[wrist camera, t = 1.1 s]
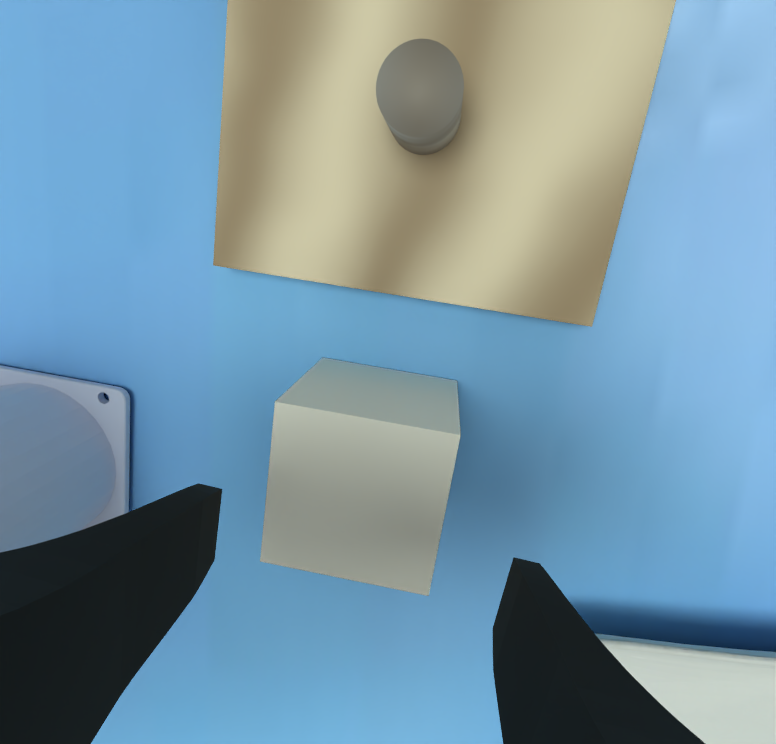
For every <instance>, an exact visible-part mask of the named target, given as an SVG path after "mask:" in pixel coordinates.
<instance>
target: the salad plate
mask: <svg viewBox="0 0 776 744" xmlns="http://www.w3.org/2000/svg"><path fill="white" fill-rule="evenodd" d="M595 635H596V636H597V637H598V638H599V640H600V641H601V642H602V643H603V644H604V645H605V646H606V648H607V649H608V650H609V651H610V652H611V653H612V654H613V655H614V657H615V658H616V659H617V660H618V661H619V662H620V663H621V664H622V666H623V667H624V668H625V669H626V670H627V671H628V672H629V673H630V674H631V675H632V676H633V677H634V678H635V679H636V680H637V681H638V682H639V683H640V684H641V685H642V686H643V687H644V688H645V689H646V690H647V691H648V692H649V693H650V694H651V695H652V696H653V697H654V698H655V699H656V700H657V701H658V702H659V703H660V704H661V705H662V706H663V707H664V708H665V709H667V710H668V711H669V712H670V713H671V714H672V715H673V716H674V717H675V718H676V719H678V720H679V721H680V722H681V723H682V724H683V725H684V726H686V727H687V728H688V729H689V730H690V731H691V732H693V733H694V734H695V735H696V736H697V737H698V738H700V739H701V740H702V741H703V742H704V743H705V744H776V652H768V651H755V650H742V649H731V648H720V647H710V646H700V645H690V644H680V643H672V642H663V641H655V640H647V639H638V638H630V637H622V636H613V635H605V634H595Z"/></svg>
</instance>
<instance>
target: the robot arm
mask: <svg viewBox="0 0 776 744" xmlns="http://www.w3.org/2000/svg"><path fill="white" fill-rule="evenodd" d="M104 393H106V394H107V395H108V396H109V401H108V400H106V399H105V398H104ZM129 451H130V396H129V394H128V392H127V391H126V390H125V389H124V388H121V387H117V386H112V385H106V384H101V383H95V382H90V381H84V380H79V379H73V378H68V377H62V376H57V375H51V374H46V373H40V372H35V371H29V370H24V369H18V368H13V367H7V366H2V365H0V744H91V742H92V741H93V739H94V737H95V736H96V734H97V733H98V731H99V729H100V728H101V726H102V724H103V723H104V721H105V720H106V718H107V716H108V715H109V713H110V712H111V710H112V708H113V707H114V705H115V703H116V702H117V700H118V699H119V697H120V696H121V694H122V693H123V691H124V690H125V688H126V687H127V686H128V684H129V683H130V681H131V680H132V678H133V677H134V676H135V674H136V673H137V672H138V670H139V669H140V668H141V666H142V665H143V664H144V662H145V661H146V660H147V658H148V657H149V656H150V654H151V653H152V652H153V650H154V649H155V648H156V646H157V645H158V644H159V643H160V641H161V640H162V639H163V637H164V636H165V635H166V633H167V632H168V631H169V629H170V628H171V627H172V625H173V624H174V623H175V621H176V620H177V619H178V617H179V616H180V615H181V613H182V612H183V610H184V609H185V608H186V606H187V605H188V604H189V602H190V601H191V600H192V598H193V597H194V595H195V594H196V592H197V590H198V588H199V587H200V585H201V583H202V582H203V580H204V578H205V576H206V574H207V573H208V571H209V569H210V567H211V565H212V563H213V562H214V559H215V550H216V540H217V531H218V522H219V513H220V504H221V494H222V489H220V488H215V487H211V486H207V485H203V484H196V485H193V486H190V487H187V488H185V489H183V490H180V491H178V492H175V493H173V494H171V495H168V496H166V497H164V498H161V499H159V500H157V501H154V502H152V503H149V504H147V505H145V506H142V507H140V508H138V509H135V510H133V511H130V512H129ZM493 671H494V679H495V687H496V694H497V702H498V709H499V716H500V723H501V730H502V737H503V744H705V743H704V742H703V741H702V740H701V739H700V738H698V737H697V736H696V735H695V734H694V733H693V732H691V731H690V730H689V729H688V728H687V727H686V726H684V725H683V724H682V723H681V722H680V721H679V720H678V719H676V718H675V717H674V716H673V715H672V714H671V713H670V712H669V711H668V710H667V709H665V708H664V707H663V706H662V705H661V704H660V703H659V702H658V701H657V700H656V699H655V698H654V697H653V696H652V695H651V694H650V693H649V692H648V691H647V690H646V689H645V688H644V687H643V686H642V685H641V684H640V683H639V682H638V681H637V680H636V679H635V678H634V677H633V676H632V675H631V674H630V673H629V672H628V671H627V670H626V669H625V668H624V667H623V666H622V664H621V663H620V662H619V661H618V660H617V659H616V658H615V657H614V655H613V654H612V653H611V652H610V651H609V650H608V649H607V648H606V646H605V645H604V644H603V643H602V642H601V641H600V640H599V638H598V637H597V636H596V635H595V634H594V632H593V631H592V630H591V629H590V628H589V626H588V625H587V624H586V623H585V621H584V620H583V619H582V618H581V616H580V615H579V614H578V613H577V611H576V610H575V609H574V607H573V606H572V605H571V604H570V602H569V601H568V600H567V598H566V597H565V596H564V594H563V593H562V592H561V590H560V589H559V588H558V586H557V585H556V584H555V583H554V581H553V580H552V579H551V577H550V576H549V575H548V573H547V572H546V571H545V569H544V568H543V567H542V566H541V565H540V563H535V562H531V561H527V560H523V559H518V558H513V562H512V565H511V568H510V572H509V575H508V578H507V582H506V585H505V589H504V592H503V595H502V599H501V602H500V606H499V609H498V612H497V616H496V619H495V623H494V626H493Z"/></svg>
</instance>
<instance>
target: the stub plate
mask: <svg viewBox="0 0 776 744" xmlns="http://www.w3.org/2000/svg"><path fill="white" fill-rule="evenodd" d="M675 2H676V0H228V7H227V25H226V43H225V62H224V80H223V98H222V116H221V135H220V153H219V171H218V189H217V207H216V226H215V244H214V262H213V265H215V266H221V267H227V268H233V269H239V270H246V271H252V272H258V273H264V274H270V275H276V276H283V277H289V278H295V279H301V280H307V281H313V282H320V283H326V284H332V285H338V286H344V287H350V288H357V289H363V290H369V291H375V292H381V293H388V294H394V295H400V296H406V297H412V298H418V299H425V300H431V301H437V302H443V303H449V304H455V305H462V306H468V307H474V308H480V309H486V310H492V311H499V312H505V313H511V314H517V315H523V316H529V317H536V318H542V319H548V320H554V321H560V322H566V323H573V324H579V325H585V326H591V327H592V324H593V320H594V316H595V312H596V308H597V305H598V301H599V297H600V293H601V289H602V285H603V281H604V277H605V274H606V270H607V266H608V262H609V258H610V254H611V250H612V246H613V243H614V239H615V235H616V231H617V227H618V223H619V219H620V215H621V211H622V208H623V204H624V200H625V196H626V192H627V188H628V184H629V180H630V177H631V173H632V169H633V165H634V161H635V157H636V153H637V149H638V146H639V142H640V138H641V134H642V130H643V126H644V122H645V118H646V114H647V111H648V107H649V103H650V99H651V95H652V91H653V87H654V83H655V80H656V76H657V72H658V68H659V64H660V60H661V56H662V52H663V48H664V45H665V41H666V37H667V33H668V29H669V25H670V21H671V17H672V14H673V10H674V6H675Z"/></svg>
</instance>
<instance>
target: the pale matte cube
mask: <svg viewBox="0 0 776 744" xmlns="http://www.w3.org/2000/svg"><path fill="white" fill-rule="evenodd" d="M460 436H461V434H460V418H459V403H458V388H457V381H456V380H450V379H444V378H438V377H433V376H427V375H421V374H415V373H410V372H404V371H398V370H392V369H386V368H381V367H375V366H369V365H363V364H357V363H352V362H346V361H340V360H334V359H329V358H321V359H320V360H319V361H318V362H317V363H316V364H315V365H314V366H313V367H312V368H311V369H310V370H309V371H307V372H306V373H305V374H304V375H303V376H302V377H301V378H300V379H299V380H298V381H297V382H296V383H295V384H294V385H292V386H291V387H290V388H289V389H288V390H287V391H286V392H285V393H284V394H283V395H282V396H281V397H280V398H278V399H277V400H276V401H275V407H274V418H273V429H272V440H271V450H270V461H269V472H268V483H267V493H266V504H265V515H264V525H263V536H262V547H261V558H260V562H265V563H270V564H275V565H280V566H285V567H289V568H294V569H299V570H304V571H309V572H314V573H319V574H324V575H329V576H333V577H338V578H343V579H348V580H353V581H358V582H363V583H368V584H373V585H378V586H382V587H387V588H392V589H397V590H402V591H407V592H412V593H417V594H422V595H426V596H429V591H430V586H431V581H432V576H433V571H434V566H435V561H436V556H437V551H438V546H439V541H440V536H441V531H442V526H443V521H444V516H445V511H446V506H447V501H448V496H449V491H450V486H451V481H452V476H453V471H454V466H455V461H456V456H457V451H458V446H459V441H460Z"/></svg>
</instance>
